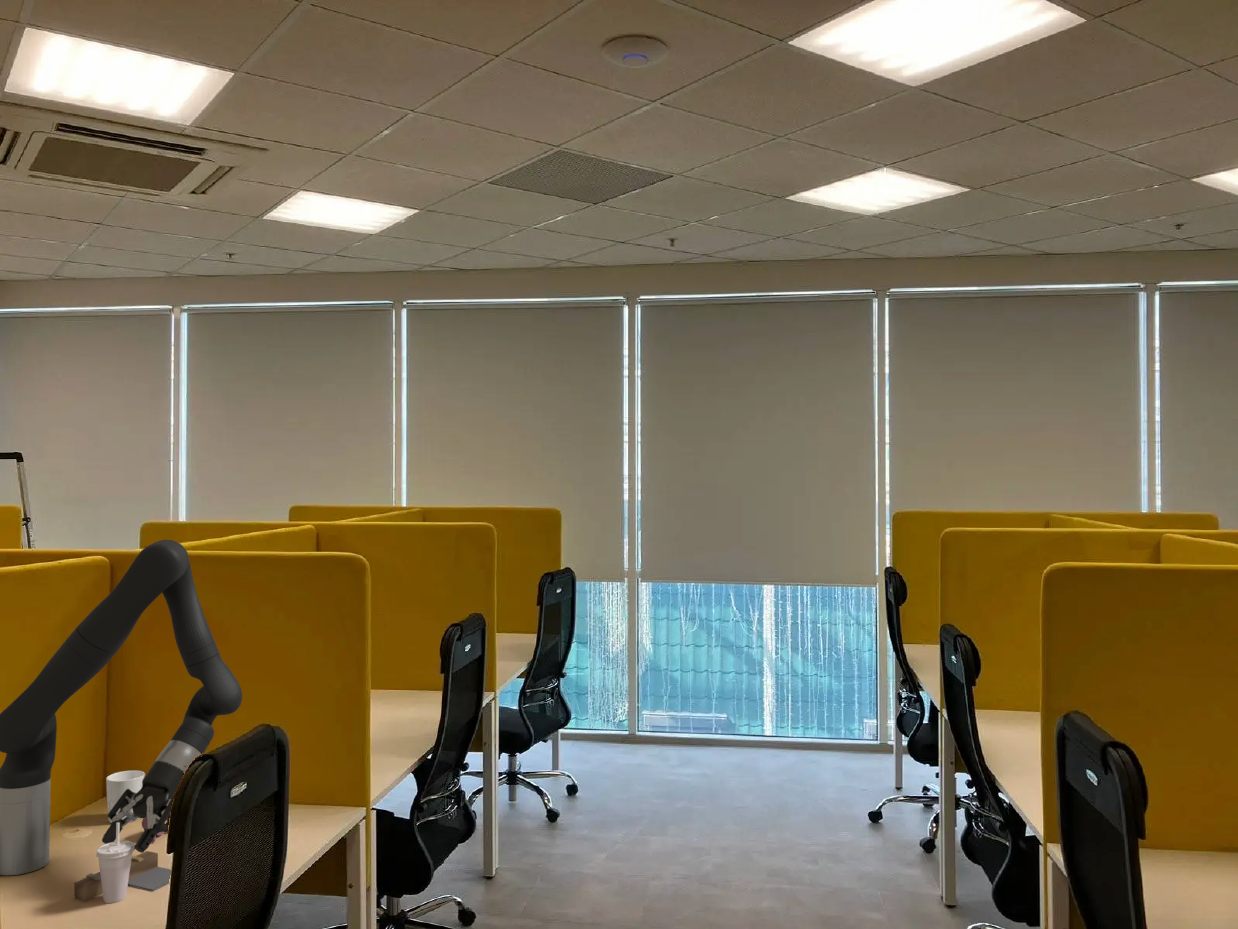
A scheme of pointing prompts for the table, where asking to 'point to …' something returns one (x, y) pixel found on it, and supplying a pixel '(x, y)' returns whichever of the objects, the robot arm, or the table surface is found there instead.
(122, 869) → the smoothie
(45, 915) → the table surface
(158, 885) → the end pad
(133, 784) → the white cup
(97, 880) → the guide rail
